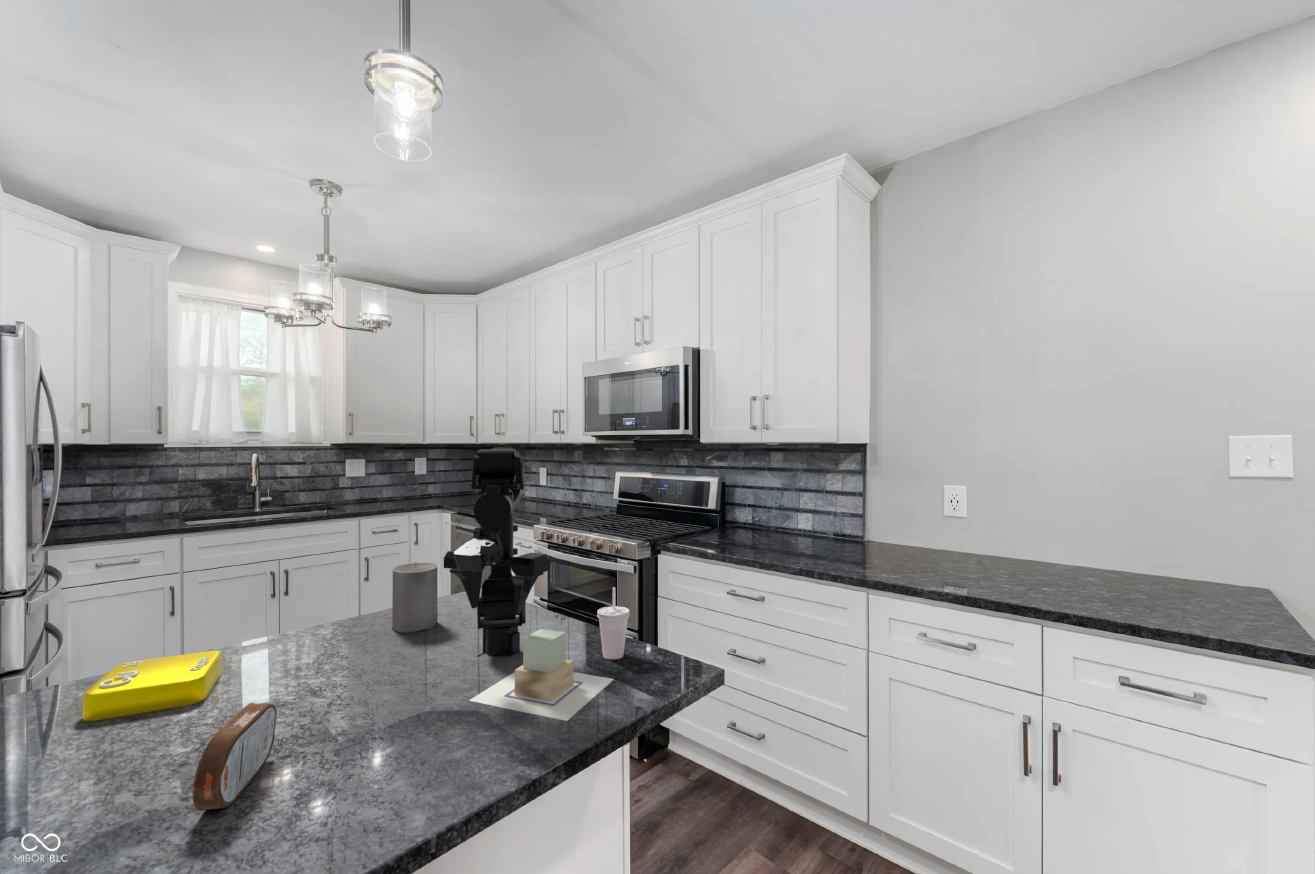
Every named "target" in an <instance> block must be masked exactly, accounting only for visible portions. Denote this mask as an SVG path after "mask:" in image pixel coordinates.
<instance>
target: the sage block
mask: <svg viewBox="0 0 1315 874" xmlns="http://www.w3.org/2000/svg"><path fill="white" fill-rule="evenodd" d="M522 640H523V650H522V651H523V653H522V655H523V656H522V658H523V659H522V660H523V661H522V662H523V663H522V665H523V669H529V670H535V671H540V672H546V673H550V672H552V671H553V670H554V669H556V668H557V667H559V666H560V665H562V664H563V663H565V659H566V631H565V632H564V631H559V630H558V631H557V630H553V629H552V630H551V629H545V628H543V629H542V628H539V629H538V630H535V631H533V632H532V633H530V634H528V635H527V636H524V637H523V639H522Z"/></svg>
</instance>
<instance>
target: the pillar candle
mask: <svg viewBox="0 0 1315 874" xmlns="http://www.w3.org/2000/svg"><path fill="white" fill-rule="evenodd" d="M391 592H392V604H391V605H392V607H391V608H392V609H391V611H392V615H391V616H392V617H391V618H392V620H391V621H392V623H391V625H392V631H393V632H397V633H405V634H407V633H408V634H409V633H416V632H420V631H425V630H426V631H427V630H430V629H432V628H434V627H436V626H437V624H438V620H439V619H438V614H439V611H438V604H439V603H438V565H437V563H433V562H417V561H415V562H414V563H413V562H412V563H406V564H400V565H397V566H395V567H393V568H392V591H391Z"/></svg>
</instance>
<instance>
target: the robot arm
mask: <svg viewBox="0 0 1315 874" xmlns="http://www.w3.org/2000/svg"><path fill="white" fill-rule="evenodd" d="M470 485H471V487H470V488H471V490H480V495H479V498H478V499H477V500H476V502H475V504H474V505H473V510H472V511H473V517H474V519H475V521H476V522H477V523H478V525H479V527H474V530H473V535H472V536H473V537H472V539H471V540H468V541H466V542H465V543H464V544H462V545H461V546H460V547H458V548H457V549H453V550H448V551H447V552H445V553H446V554H445V555H444V557H443V568H444V569H449V570H448V571H449V573H451V574H453V575H455V576H456V577H457V578H459V580H460V581H461V584H462V586H463V588H464V590H465V593H466V597H467V599H468V602H469V605H470V607H471V609H476V612H477V614H476V615H477V630H481V629H482V652H481V653H480V654H477V658H479V657H481V656H483V655H484V654H486V655H487V656H490V657H503V656H511V657H512V656H514V655H516V654H517V653H520V652H521V651H520V650H521V649H520V648H521V638H520V637H521V632H520V631H519V627H522V625H524V624H526V621H527V618H526V617H527V616H526V615H527V614H526V612H527V611H526V609H527V608H526V607H527V606H526V605H527V604H526V601H527V600H528V597H529V595H530V593H531V591H532V588H533V587H534V585H535V583H536V581H537V580H538V577H541V576H542V575H544V573H545V572H548V571H550V570H551V560H550V558H549V556H548V555H547V553H537V552H527V553H524V554H522V555H519V556H517V555H518V552H519V550H518V548H517V547H515V548H514V533H516V532H518V531H519V525H516V524H515V525H514V511H515V509H516V507H517V506H518V504H519V502H520V501H521V497H522V495H521V493H522V492H521V491H524V490H525V465H524V463H523V461H522V460H521V456H520V455H517V453H516V448H513V447H493V448H490V449H479V450H478V451H477V455H474V457H473V465H472V475H471V484H470ZM485 567H490V574H489V576H488V577H487V578H485V579H484V581H483V583H482V579H483V572H484V571H483V570H484V569H485ZM512 573H513V574H514V575H513V574H512Z"/></svg>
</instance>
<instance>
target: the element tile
mask: <svg viewBox="0 0 1315 874" xmlns="http://www.w3.org/2000/svg"><path fill="white" fill-rule="evenodd" d="M222 663H223V653H222V651H220V650H210V651H209V650H208V651H201V652H193V653H186V654H178V655H171V656H164V657H155V658H149V659H140V660H133V661H127V662H121V663H119V664H116V666H114V667H112V668H111V669H110V670H109V671H107V672H106V674H104V675H103V676H102V677H101V678H99V679H98V680H97V681H96V682H95V683H94V684H93V685H91V686H90V687H89V688H88V689H87V690H85V691H84V692H83V694H82V715H81V716H82V717H81V718H82V721H84V722H93V721H94V722H95V721H100V720H106V719H112V718H118V717H124V716H131V715H136V714H143V713H148V712H149V713H150V712H154V711H155V712H156V711H160V710H161V711H162V710H167V709H173V708H180V707H184V706H190V705H193V704H197V703H200V702H202V701H204V700H205V699H207V697H208V696H209V694H210V693H211V691H212V690H213V688H214V686H215V685H216V683H217V682H218V680H219V678H220V677H221V675H222V671H223V670H222V667H223V664H222Z"/></svg>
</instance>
